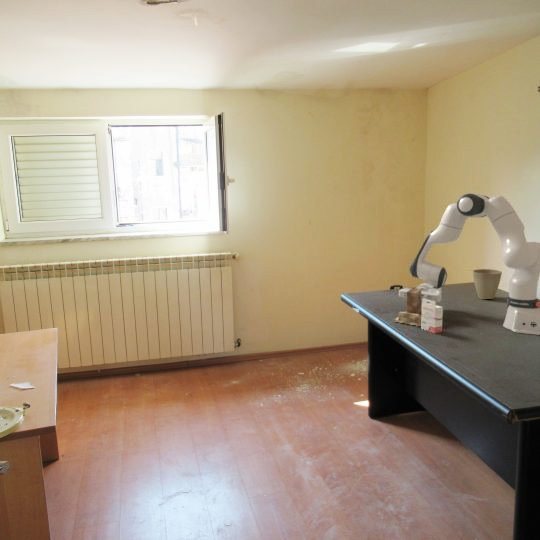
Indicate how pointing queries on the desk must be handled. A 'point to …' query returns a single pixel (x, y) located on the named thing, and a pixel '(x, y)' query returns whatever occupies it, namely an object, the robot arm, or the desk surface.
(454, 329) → the desk surface
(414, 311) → the tall tan wooden block
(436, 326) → the ink cartridge box
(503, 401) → the desk surface
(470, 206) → the robot arm
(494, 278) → the plant pot
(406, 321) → the track
